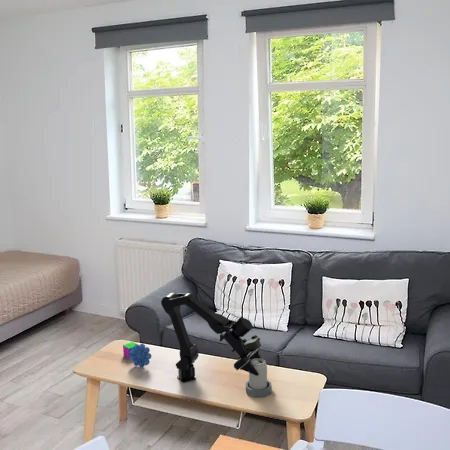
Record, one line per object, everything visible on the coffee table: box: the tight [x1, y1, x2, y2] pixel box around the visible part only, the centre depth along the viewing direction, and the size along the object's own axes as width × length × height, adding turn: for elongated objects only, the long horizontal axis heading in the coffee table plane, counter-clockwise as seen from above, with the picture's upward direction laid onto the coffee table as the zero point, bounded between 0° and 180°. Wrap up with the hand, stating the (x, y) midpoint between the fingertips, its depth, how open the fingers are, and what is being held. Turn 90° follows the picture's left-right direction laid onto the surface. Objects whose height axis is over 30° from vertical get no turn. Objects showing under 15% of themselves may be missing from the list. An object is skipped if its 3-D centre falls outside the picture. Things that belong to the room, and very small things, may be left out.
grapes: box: [129, 343, 152, 369], centre depth 263 cm, size 12×7×12 cm, turn 64°
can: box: [248, 358, 268, 390], centre depth 237 cm, size 8×8×12 cm
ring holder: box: [245, 379, 273, 398], centre depth 238 cm, size 11×11×3 cm
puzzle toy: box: [122, 341, 137, 360], centre depth 276 cm, size 6×6×6 cm
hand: (261, 371), depth 236 cm, fingers closed on can, 7 cm apart
